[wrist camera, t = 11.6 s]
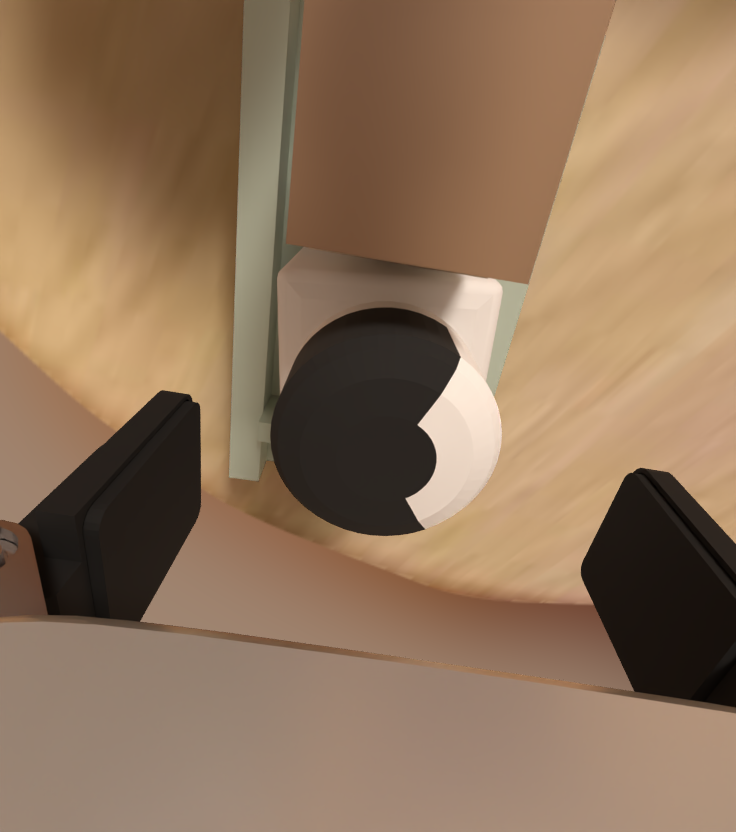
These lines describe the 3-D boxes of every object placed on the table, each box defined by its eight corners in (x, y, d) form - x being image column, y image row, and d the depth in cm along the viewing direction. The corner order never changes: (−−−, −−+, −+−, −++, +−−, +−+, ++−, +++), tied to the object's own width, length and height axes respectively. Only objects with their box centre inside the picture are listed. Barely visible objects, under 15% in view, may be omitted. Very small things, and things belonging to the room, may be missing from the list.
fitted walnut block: (482, 70, 18) (641, -83, 7) (445, 236, 21) (522, 303, 10) (351, 44, 18) (316, -156, 7) (331, 216, 20) (283, 264, 10)
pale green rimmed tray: (563, 60, 19) (619, 26, 15) (448, 466, 28) (462, 521, 24) (269, 2, 19) (237, -52, 14) (247, 438, 28) (223, 488, 23)
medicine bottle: (304, 388, 24) (249, 561, 13) (304, 239, 21) (231, 309, 10) (445, 397, 24) (502, 575, 13) (467, 250, 21) (565, 329, 10)
